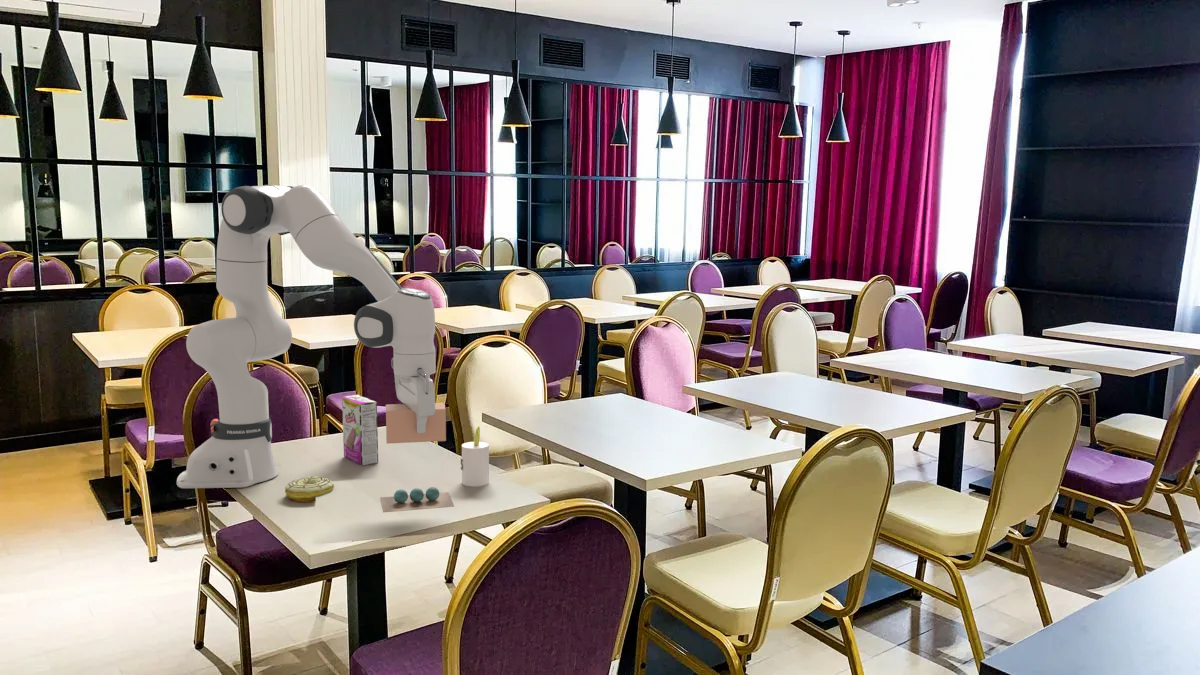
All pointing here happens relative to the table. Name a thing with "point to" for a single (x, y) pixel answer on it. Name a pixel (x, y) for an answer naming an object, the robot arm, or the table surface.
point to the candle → (475, 462)
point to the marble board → (415, 506)
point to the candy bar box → (360, 429)
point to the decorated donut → (308, 488)
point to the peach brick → (414, 425)
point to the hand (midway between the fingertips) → (415, 428)
